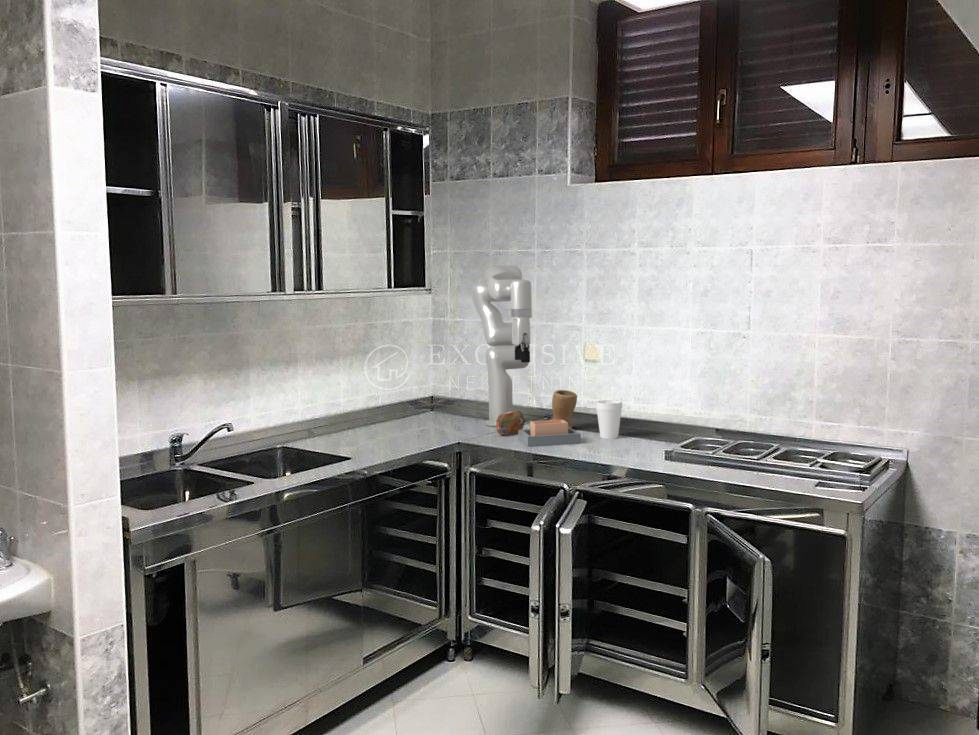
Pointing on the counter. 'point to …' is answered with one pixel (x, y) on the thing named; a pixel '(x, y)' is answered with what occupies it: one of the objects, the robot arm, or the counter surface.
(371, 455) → the counter surface
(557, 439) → the grey tray
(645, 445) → the counter surface
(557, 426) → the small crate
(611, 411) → the foam cup
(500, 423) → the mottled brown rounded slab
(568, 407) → the brown boot
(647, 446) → the counter surface
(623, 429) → the counter surface
